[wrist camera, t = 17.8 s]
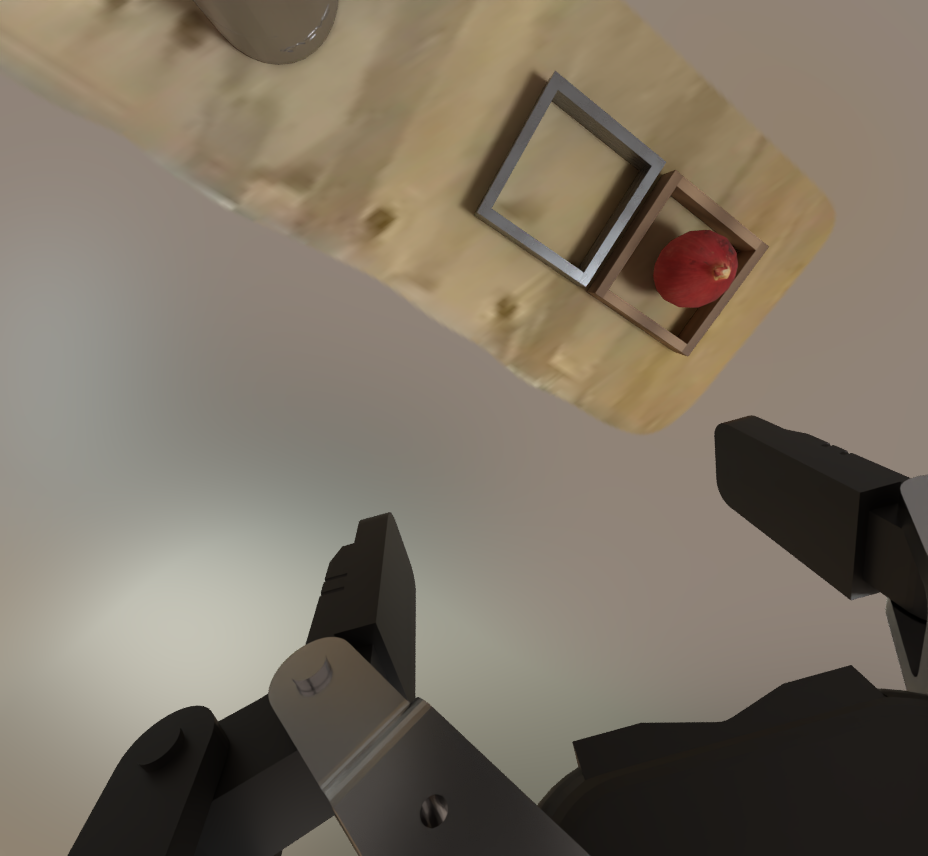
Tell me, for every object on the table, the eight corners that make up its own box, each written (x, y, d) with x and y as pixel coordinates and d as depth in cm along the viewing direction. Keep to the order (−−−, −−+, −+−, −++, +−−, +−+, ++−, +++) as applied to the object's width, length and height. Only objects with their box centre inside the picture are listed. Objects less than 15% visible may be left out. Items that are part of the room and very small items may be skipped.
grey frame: (473, 215, 36) (477, 212, 34) (547, 81, 33) (555, 70, 32) (577, 285, 39) (585, 286, 37) (653, 167, 36) (666, 162, 34)
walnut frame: (586, 291, 39) (595, 293, 37) (662, 174, 36) (675, 169, 34) (675, 352, 42) (688, 356, 40) (752, 247, 39) (769, 246, 37)
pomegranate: (677, 217, 38) (741, 206, 30) (713, 268, 39) (782, 270, 32) (623, 269, 39) (673, 271, 31) (661, 317, 40) (717, 329, 33)
